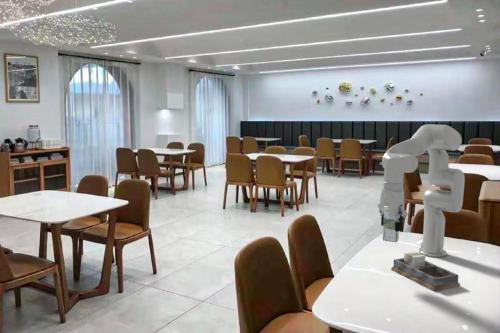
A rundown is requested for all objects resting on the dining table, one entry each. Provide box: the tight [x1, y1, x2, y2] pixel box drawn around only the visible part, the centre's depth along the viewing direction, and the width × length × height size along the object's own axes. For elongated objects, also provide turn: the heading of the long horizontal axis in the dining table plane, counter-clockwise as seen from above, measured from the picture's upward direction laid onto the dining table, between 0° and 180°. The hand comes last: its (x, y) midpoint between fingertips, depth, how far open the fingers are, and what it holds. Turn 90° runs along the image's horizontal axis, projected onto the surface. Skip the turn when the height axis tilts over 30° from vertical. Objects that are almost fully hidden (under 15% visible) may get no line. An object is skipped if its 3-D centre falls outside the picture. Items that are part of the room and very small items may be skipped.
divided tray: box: [391, 251, 461, 292], centre depth 186 cm, size 25×14×8 cm, turn 22°
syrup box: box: [382, 206, 400, 243], centre depth 182 cm, size 6×6×14 cm
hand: (391, 228), depth 182 cm, fingers closed on syrup box, 8 cm apart
